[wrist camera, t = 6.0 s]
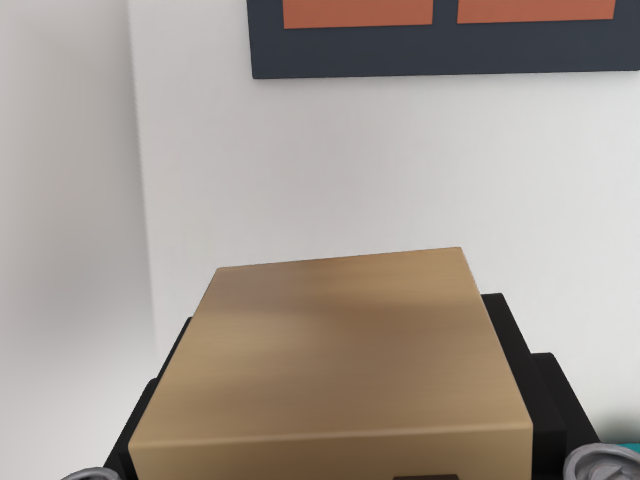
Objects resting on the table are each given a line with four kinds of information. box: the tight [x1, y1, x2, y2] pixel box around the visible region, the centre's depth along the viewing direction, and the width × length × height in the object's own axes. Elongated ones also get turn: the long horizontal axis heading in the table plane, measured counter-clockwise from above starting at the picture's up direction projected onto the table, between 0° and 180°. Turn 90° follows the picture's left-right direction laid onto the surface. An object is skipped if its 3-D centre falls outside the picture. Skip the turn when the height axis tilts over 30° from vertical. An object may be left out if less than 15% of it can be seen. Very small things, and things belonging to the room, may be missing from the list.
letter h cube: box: [128, 247, 533, 480], centre depth 10 cm, size 5×5×5 cm
